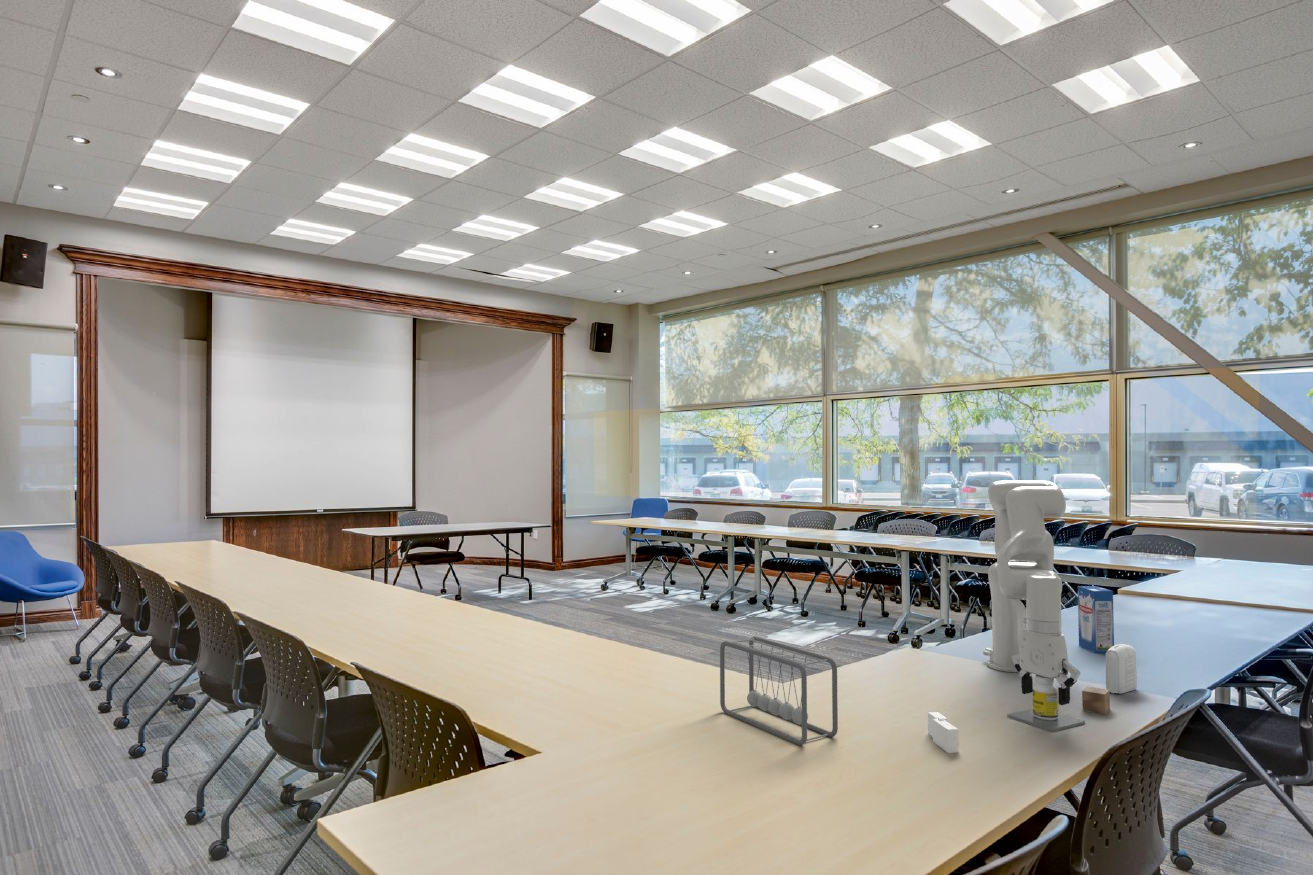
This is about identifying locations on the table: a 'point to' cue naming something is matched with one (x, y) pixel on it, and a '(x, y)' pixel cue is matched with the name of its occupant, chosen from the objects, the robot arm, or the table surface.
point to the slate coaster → (1049, 725)
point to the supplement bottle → (1045, 698)
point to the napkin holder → (942, 732)
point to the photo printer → (1121, 669)
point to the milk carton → (1095, 618)
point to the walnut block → (1096, 700)
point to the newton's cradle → (775, 704)
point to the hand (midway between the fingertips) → (1045, 698)
